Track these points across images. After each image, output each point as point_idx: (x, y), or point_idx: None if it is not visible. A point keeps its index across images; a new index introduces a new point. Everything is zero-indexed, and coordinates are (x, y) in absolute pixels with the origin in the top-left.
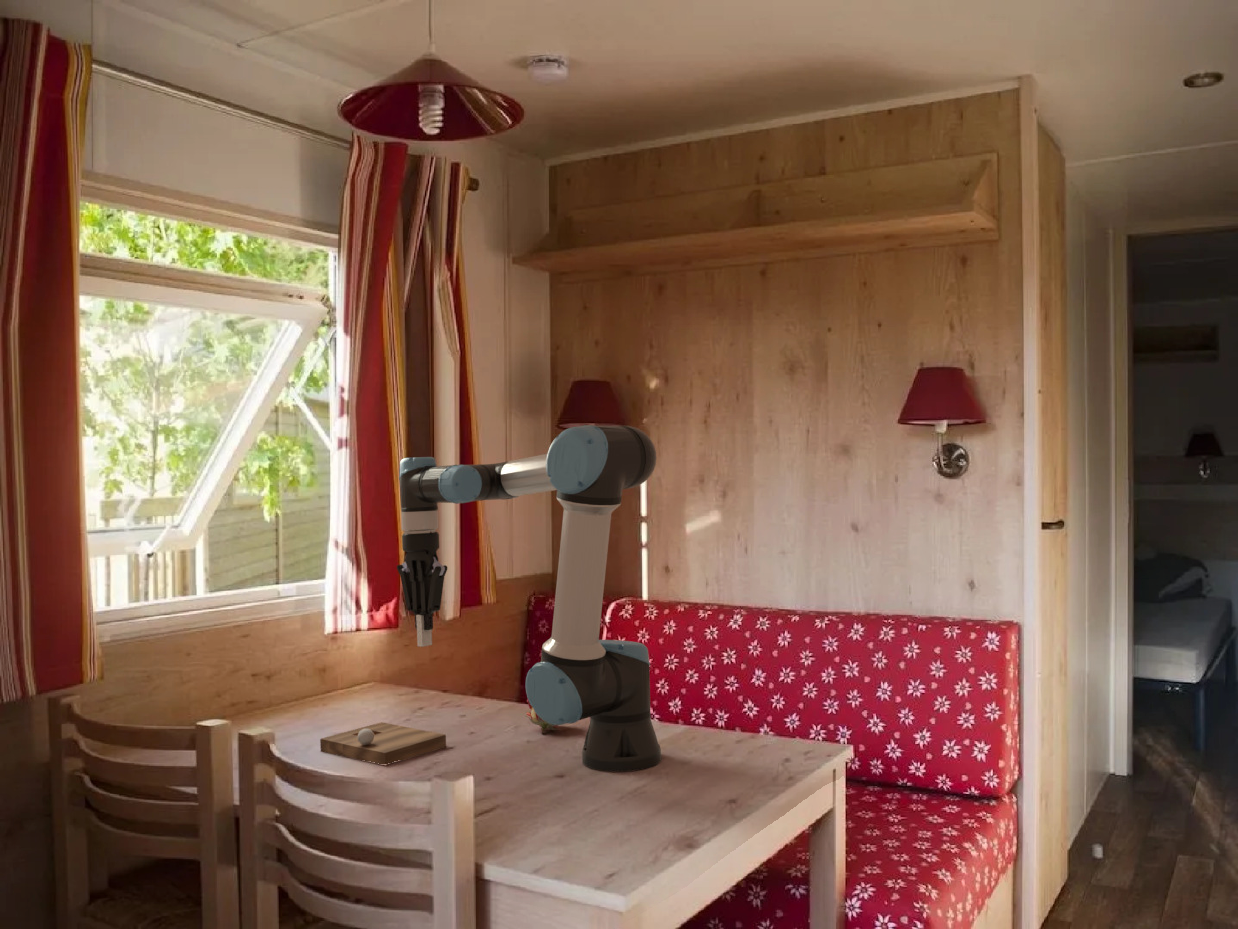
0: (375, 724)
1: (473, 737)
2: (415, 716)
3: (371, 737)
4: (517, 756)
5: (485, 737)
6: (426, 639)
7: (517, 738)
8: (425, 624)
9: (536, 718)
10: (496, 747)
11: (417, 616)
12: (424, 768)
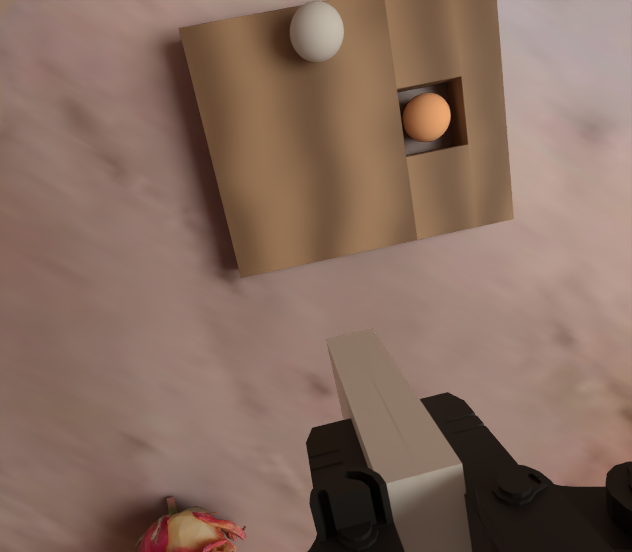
0: (505, 192)
1: (276, 368)
2: (575, 367)
3: (291, 40)
4: (23, 353)
5: (253, 388)
6: (341, 395)
7: (184, 438)
8: (342, 453)
9: (170, 518)
10: (143, 360)
11: (436, 457)
12: (83, 110)
